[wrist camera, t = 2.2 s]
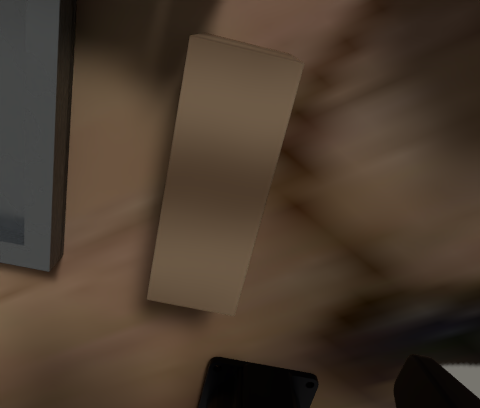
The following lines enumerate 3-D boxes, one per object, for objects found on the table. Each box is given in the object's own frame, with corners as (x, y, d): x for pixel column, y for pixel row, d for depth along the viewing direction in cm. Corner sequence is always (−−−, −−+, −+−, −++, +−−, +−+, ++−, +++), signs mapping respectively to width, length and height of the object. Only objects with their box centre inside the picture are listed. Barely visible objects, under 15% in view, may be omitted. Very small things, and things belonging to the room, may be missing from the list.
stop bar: (236, 253, 21) (234, 316, 16) (168, 239, 21) (146, 299, 16) (288, 53, 17) (304, 63, 13) (205, 32, 17) (189, 35, 12)
